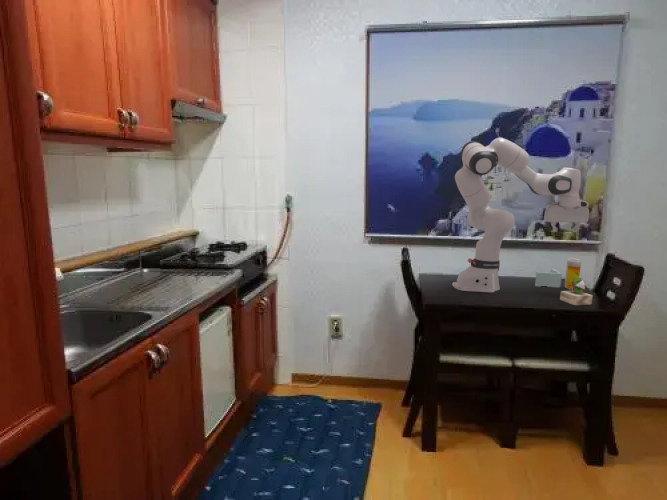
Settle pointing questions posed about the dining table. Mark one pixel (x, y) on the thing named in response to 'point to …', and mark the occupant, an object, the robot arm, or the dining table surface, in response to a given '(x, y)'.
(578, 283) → the geometric puzzle
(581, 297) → the oak base block
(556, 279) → the right angle wall
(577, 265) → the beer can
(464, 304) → the dining table surface
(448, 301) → the dining table surface
